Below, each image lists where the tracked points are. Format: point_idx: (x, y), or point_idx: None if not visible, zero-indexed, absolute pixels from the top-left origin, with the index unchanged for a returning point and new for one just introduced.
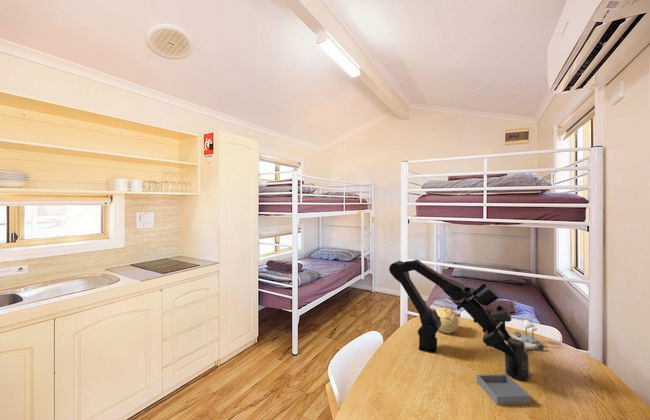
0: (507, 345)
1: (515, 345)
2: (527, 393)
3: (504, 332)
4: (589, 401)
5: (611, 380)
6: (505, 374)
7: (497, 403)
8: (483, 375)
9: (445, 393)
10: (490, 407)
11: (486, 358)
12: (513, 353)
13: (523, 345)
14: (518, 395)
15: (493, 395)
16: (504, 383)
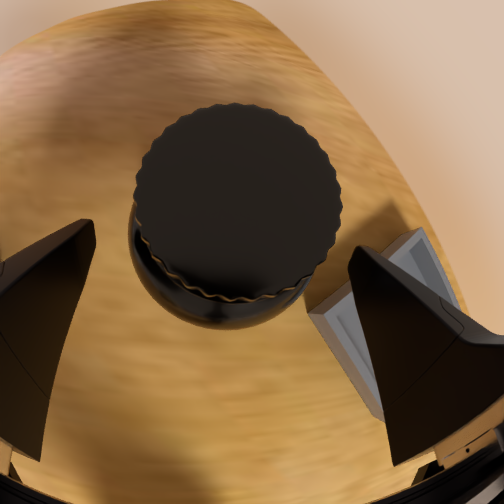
0: (438, 304)
1: (339, 212)
2: (415, 234)
3: (11, 325)
4: (263, 62)
5: (108, 13)
6: (328, 317)
7: None
8: None
9: None
10: None
11: (116, 399)
12: (381, 255)
13: (286, 124)
14: (440, 267)
15: None
16: (342, 319)
